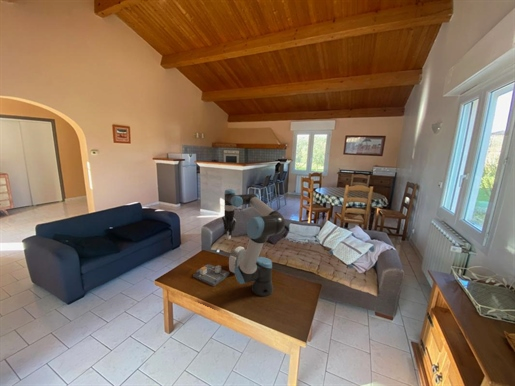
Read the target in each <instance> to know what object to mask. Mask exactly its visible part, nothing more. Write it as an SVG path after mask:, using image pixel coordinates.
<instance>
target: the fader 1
mask: <svg viewBox="0 0 515 386" xmlns="http://www.w3.org/2000/svg"><path fill="white" fill-rule="evenodd" d="M205 266H206V265H204V266H202V267H201V268H199V269H200V274H202V275H204V274H206V273H207V267H205Z"/></svg>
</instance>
